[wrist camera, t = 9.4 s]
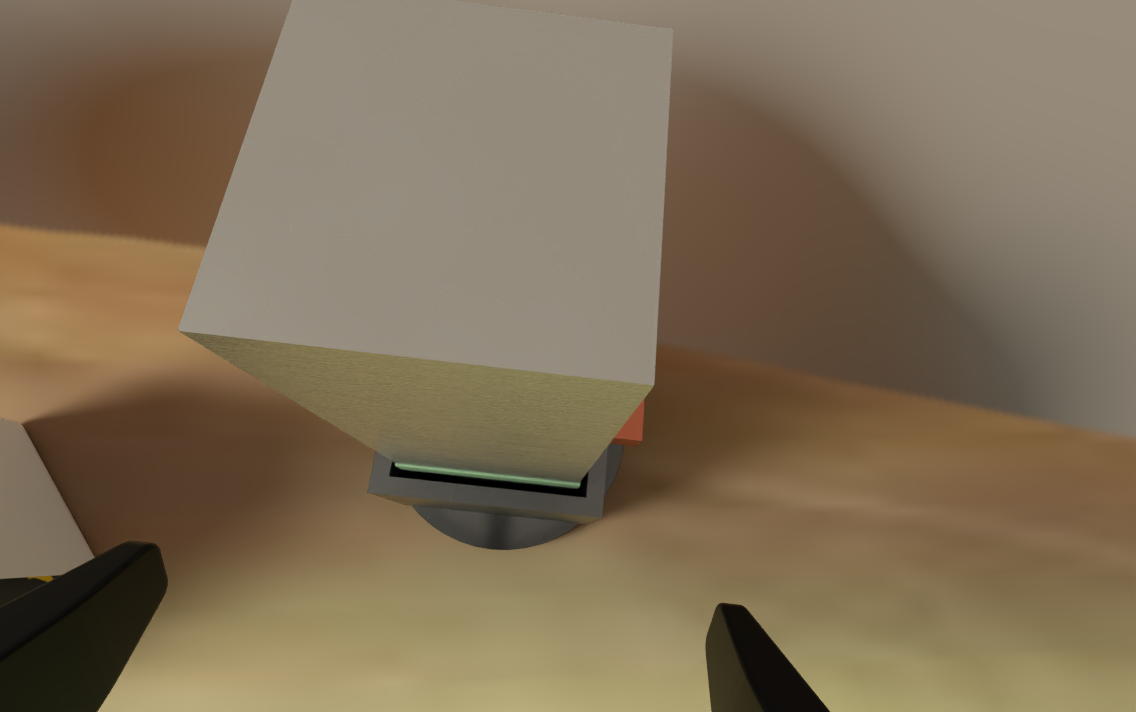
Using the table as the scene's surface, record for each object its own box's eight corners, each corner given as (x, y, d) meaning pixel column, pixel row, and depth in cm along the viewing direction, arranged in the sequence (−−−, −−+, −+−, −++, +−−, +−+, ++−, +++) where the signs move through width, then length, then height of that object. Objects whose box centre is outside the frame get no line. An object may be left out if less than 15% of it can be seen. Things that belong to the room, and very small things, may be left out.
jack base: (613, 561, 21) (642, 567, 16) (370, 536, 21) (313, 532, 15) (628, 336, 24) (658, 274, 18) (416, 312, 24) (381, 241, 18)
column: (575, 491, 17) (658, 390, 6) (408, 473, 17) (171, 333, 6) (589, 337, 19) (677, 26, 8) (438, 319, 19) (296, -23, 7)
